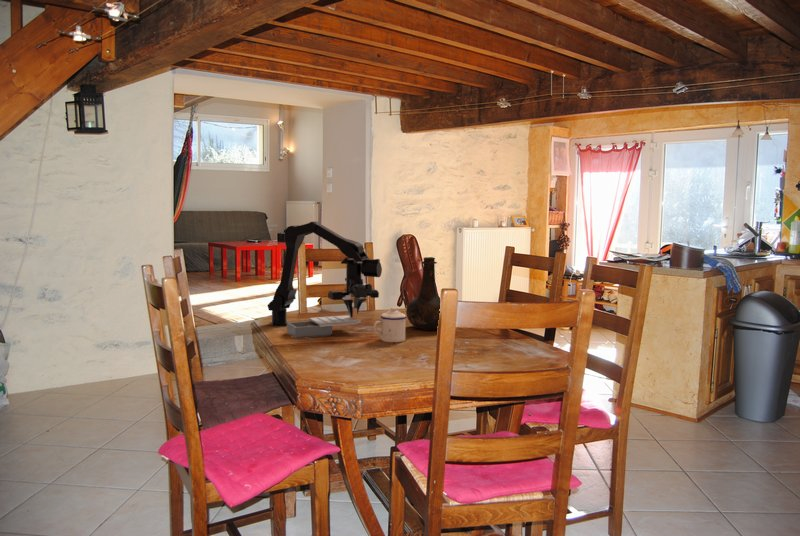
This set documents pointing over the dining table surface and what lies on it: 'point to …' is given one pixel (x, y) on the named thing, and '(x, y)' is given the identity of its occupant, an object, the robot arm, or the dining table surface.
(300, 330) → the tub
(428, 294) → the glass bottle
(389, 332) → the teacup with lid
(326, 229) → the robot arm
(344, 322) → the lid
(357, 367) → the dining table surface
